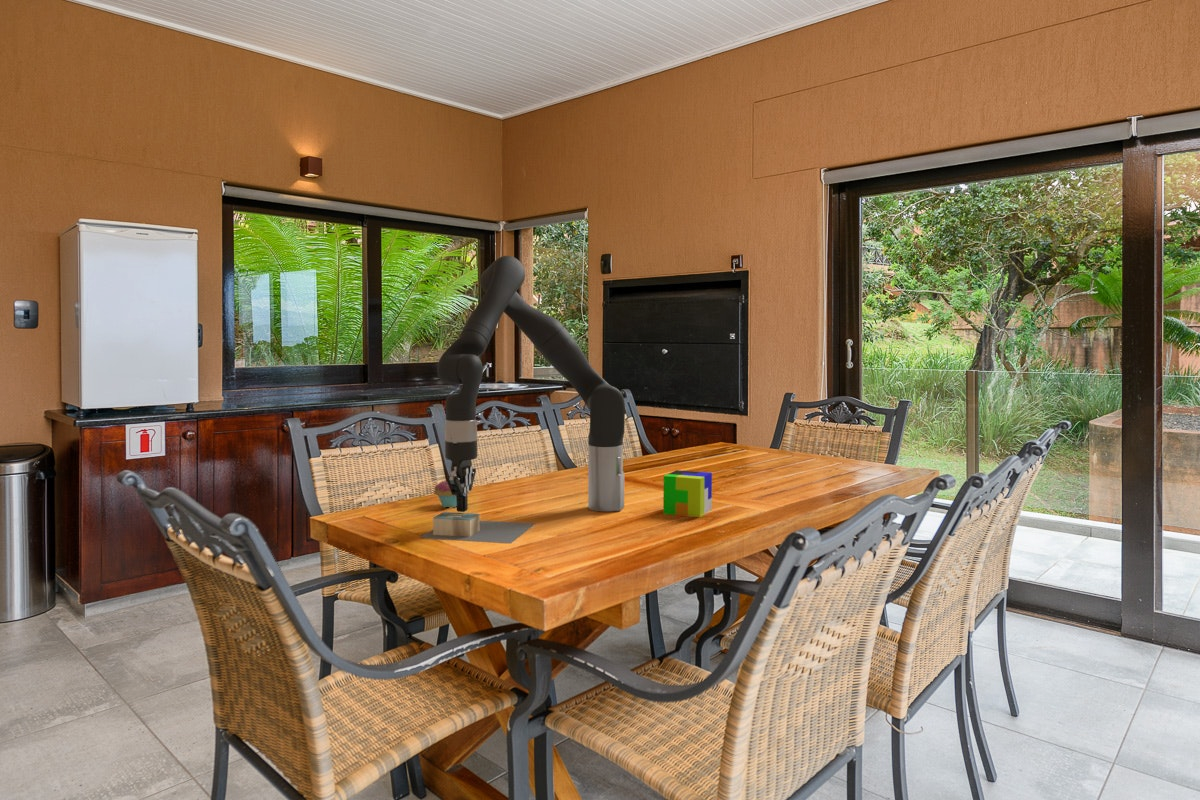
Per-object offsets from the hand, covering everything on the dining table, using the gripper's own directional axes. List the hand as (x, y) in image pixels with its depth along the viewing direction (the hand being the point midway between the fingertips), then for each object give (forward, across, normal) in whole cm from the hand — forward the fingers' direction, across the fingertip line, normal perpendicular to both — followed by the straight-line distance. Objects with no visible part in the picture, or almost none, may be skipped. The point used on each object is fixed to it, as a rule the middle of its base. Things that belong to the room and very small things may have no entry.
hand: (462, 511), depth 182 cm
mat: (+5, 0, +4) cm, 6 cm away
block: (+2, +4, +4) cm, 6 cm away
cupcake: (+5, -24, -14) cm, 28 cm away
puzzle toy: (+5, -32, +50) cm, 60 cm away
